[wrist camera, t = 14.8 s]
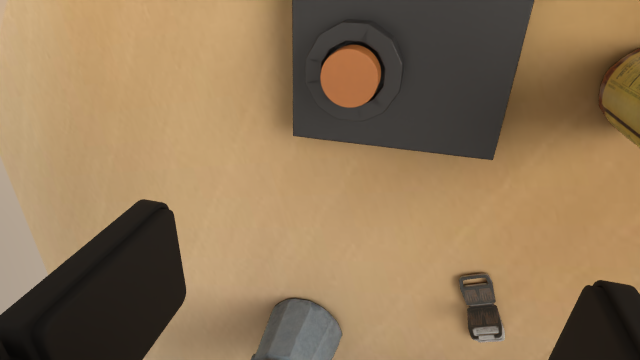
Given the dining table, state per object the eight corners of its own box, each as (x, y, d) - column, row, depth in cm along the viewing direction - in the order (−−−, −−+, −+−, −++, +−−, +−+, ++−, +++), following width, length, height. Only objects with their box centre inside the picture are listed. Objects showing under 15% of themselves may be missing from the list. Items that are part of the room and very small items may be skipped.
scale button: (383, 46, 27) (381, 51, 26) (378, 103, 29) (375, 110, 28) (326, 42, 28) (321, 46, 27) (325, 98, 30) (319, 104, 29)
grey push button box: (529, -16, 27) (545, -13, 23) (488, 147, 33) (496, 170, 29) (302, -24, 30) (283, -23, 27) (301, 125, 36) (286, 144, 32)
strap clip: (505, 334, 41) (513, 370, 38) (475, 337, 42) (479, 372, 39) (489, 270, 38) (495, 302, 35) (456, 274, 39) (459, 306, 36)
